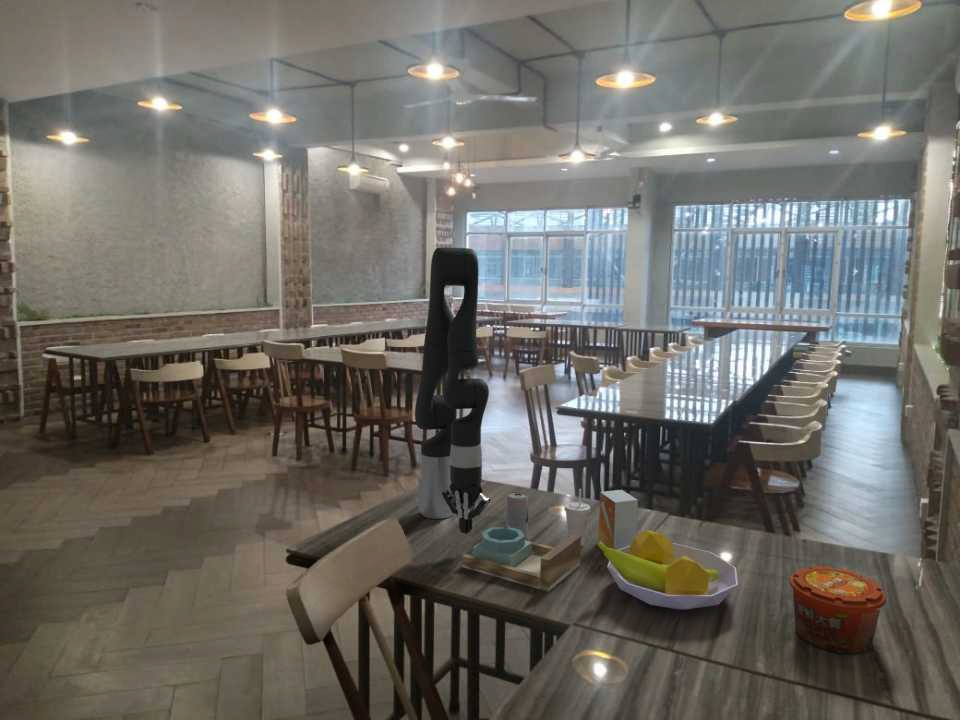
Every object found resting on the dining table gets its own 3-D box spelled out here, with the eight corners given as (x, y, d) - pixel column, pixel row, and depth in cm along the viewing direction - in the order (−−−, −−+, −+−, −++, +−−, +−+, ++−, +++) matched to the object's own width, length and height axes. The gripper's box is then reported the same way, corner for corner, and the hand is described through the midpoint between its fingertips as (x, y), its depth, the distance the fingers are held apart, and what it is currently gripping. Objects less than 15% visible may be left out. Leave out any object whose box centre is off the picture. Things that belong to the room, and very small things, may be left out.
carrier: (473, 558, 161) (473, 536, 161) (495, 544, 170) (495, 523, 169) (510, 568, 156) (510, 546, 155) (531, 553, 164) (532, 532, 164)
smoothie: (591, 549, 170) (592, 493, 169) (564, 548, 171) (566, 493, 169) (587, 538, 177) (589, 485, 175) (562, 538, 177) (563, 484, 175)
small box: (597, 541, 175) (599, 491, 173) (620, 538, 177) (622, 489, 175) (613, 554, 167) (615, 502, 166) (636, 551, 169) (638, 499, 168)
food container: (799, 607, 142) (803, 557, 141) (889, 633, 132) (894, 580, 131) (774, 639, 130) (778, 584, 129) (871, 671, 120) (877, 612, 118)
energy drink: (527, 537, 177) (528, 492, 176) (527, 546, 172) (528, 499, 170) (506, 536, 178) (507, 491, 176) (505, 545, 172) (506, 498, 171)
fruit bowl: (732, 575, 157) (735, 526, 155) (738, 635, 131) (741, 578, 130) (607, 558, 165) (608, 512, 164) (588, 612, 140) (590, 557, 138)
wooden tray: (462, 567, 160) (462, 537, 159) (498, 544, 173) (498, 516, 172) (548, 591, 148) (549, 560, 147) (580, 565, 161) (580, 535, 160)
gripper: (433, 461, 166) (434, 531, 168) (481, 470, 159) (480, 543, 161) (452, 454, 172) (452, 522, 175) (498, 462, 165) (497, 533, 168)
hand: (465, 532), depth 168 cm, fingers closed
